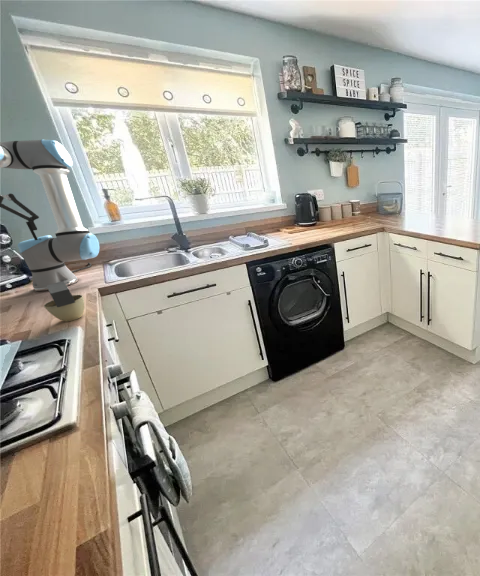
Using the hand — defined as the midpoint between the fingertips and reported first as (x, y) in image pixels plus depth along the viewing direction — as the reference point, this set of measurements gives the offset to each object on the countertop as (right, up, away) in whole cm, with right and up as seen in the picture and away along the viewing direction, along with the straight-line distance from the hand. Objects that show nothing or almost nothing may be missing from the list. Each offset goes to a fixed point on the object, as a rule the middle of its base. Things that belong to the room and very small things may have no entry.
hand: (9, 244), depth 108 cm
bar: (+20, -20, 0) cm, 28 cm away
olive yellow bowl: (+20, -27, +3) cm, 33 cm away
